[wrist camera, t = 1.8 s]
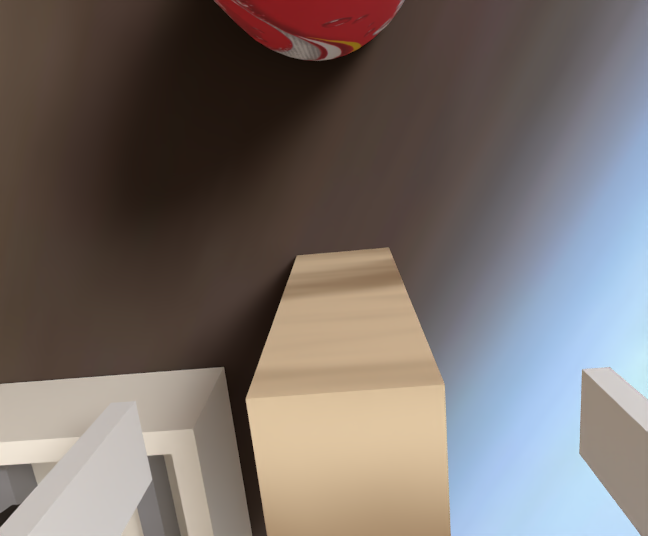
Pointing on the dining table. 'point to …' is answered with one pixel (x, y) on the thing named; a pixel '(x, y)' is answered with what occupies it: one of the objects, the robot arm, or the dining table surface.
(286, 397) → the light wood block
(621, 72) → the dining table surface
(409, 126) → the dining table surface
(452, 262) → the dining table surface
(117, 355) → the dining table surface
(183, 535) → the white slotted box
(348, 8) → the soda can
